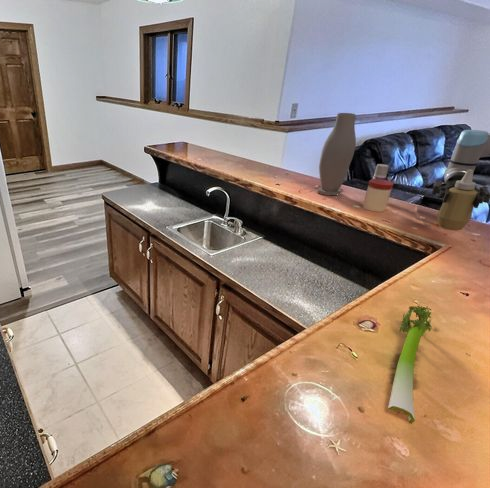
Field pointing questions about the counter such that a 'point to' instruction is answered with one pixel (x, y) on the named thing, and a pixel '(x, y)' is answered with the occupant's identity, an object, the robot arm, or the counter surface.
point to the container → (381, 171)
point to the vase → (337, 154)
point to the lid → (380, 184)
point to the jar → (376, 199)
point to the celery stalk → (408, 361)
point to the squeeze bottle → (458, 204)
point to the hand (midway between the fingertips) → (461, 200)
